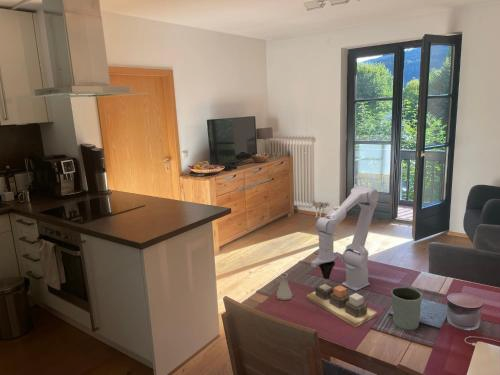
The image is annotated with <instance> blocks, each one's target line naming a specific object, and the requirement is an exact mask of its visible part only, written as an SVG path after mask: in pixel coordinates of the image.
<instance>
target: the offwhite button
mask: <svg viewBox="0 0 500 375" xmlns="http://www.w3.org/2000/svg"><path fill="white" fill-rule="evenodd" d="M319 288H320V289H322V290H324V291H327V290H329V289H331V288H332V287H330V286H328V285H326V284H325V283H324V285H322V286H319Z"/></svg>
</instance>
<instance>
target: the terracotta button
mask: <svg viewBox="0 0 500 375" xmlns="http://www.w3.org/2000/svg"><path fill="white" fill-rule="evenodd" d="M334 287H335V288H333V295H335V296H336V297H338V298H340V299H341V298H343V297H345V296H347V294H348V293H347V290H348V287H346V286H342V285H340V284H339V285H337V286H334Z"/></svg>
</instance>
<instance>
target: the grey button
mask: <svg viewBox="0 0 500 375" xmlns="http://www.w3.org/2000/svg"><path fill="white" fill-rule="evenodd" d="M363 302H364V296H363V295H361V294H359V293H356V292H355V293H352V294H351V296H349V303H350V304H351V305H353V306H355V307H358V306H360V305H362V304H363Z"/></svg>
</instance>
